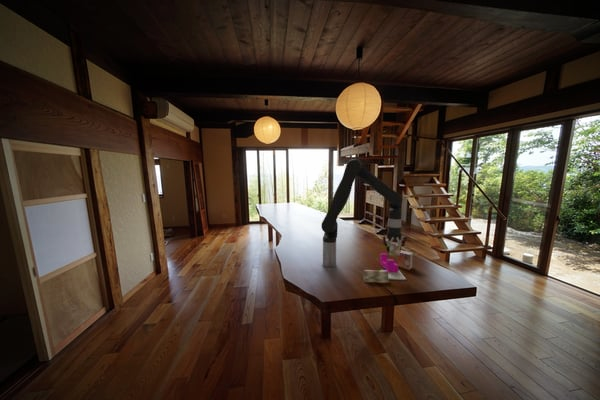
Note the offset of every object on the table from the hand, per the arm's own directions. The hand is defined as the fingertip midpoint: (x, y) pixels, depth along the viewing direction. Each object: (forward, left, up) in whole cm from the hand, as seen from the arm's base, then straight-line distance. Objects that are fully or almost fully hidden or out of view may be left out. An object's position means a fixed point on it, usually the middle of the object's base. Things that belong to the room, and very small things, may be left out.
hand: (393, 252), depth 128 cm
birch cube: (0, 0, -1) cm, 1 cm away
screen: (-12, -7, -15) cm, 21 cm away
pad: (0, 0, -15) cm, 15 cm away
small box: (+12, +13, -15) cm, 23 cm away
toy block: (+1, +10, -15) cm, 18 cm away
